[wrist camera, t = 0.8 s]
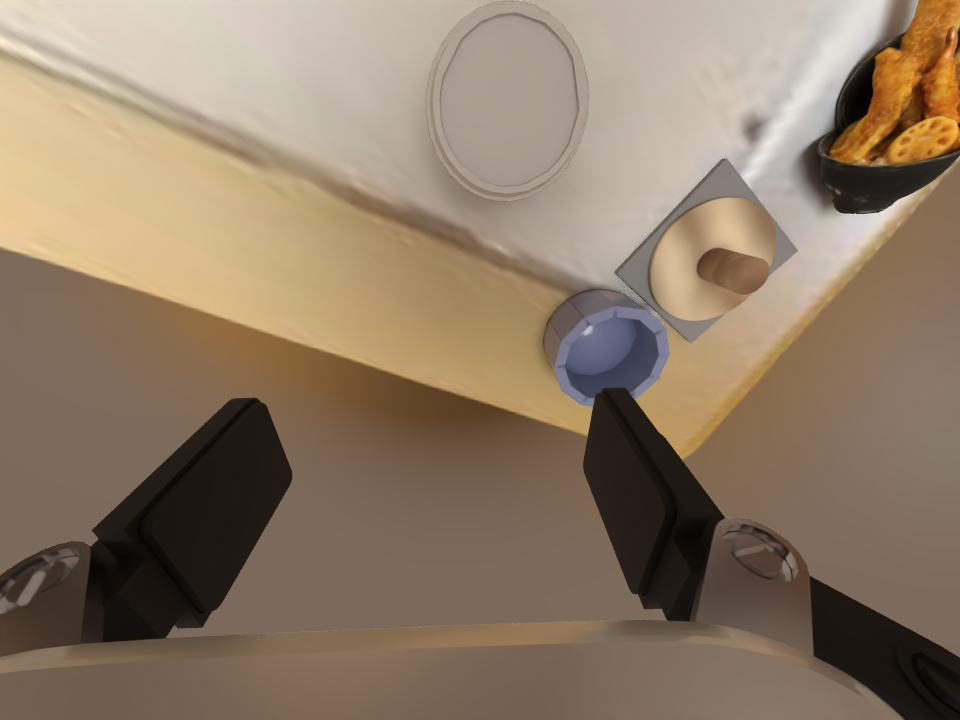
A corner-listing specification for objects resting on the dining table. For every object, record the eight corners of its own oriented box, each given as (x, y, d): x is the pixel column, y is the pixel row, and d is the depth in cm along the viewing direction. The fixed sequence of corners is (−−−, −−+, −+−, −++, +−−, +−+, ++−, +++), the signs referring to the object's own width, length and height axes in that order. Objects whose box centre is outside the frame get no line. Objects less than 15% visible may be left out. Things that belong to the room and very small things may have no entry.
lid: (724, 167, 31) (778, 164, 25) (790, 251, 35) (849, 264, 29) (623, 272, 35) (651, 289, 30) (692, 337, 39) (728, 362, 33)
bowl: (594, 268, 35) (617, 283, 30) (660, 328, 39) (691, 351, 33) (523, 344, 39) (533, 370, 34) (589, 392, 42) (607, 423, 37)
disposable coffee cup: (530, 206, 32) (561, 219, 22) (430, 180, 31) (412, 179, 20) (564, 83, 28) (624, 23, 17) (450, 47, 27) (440, -42, 16)
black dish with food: (814, 242, 30) (937, -60, 18) (778, 183, 37) (850, -69, 24) (969, 221, 27) (1267, -182, 14) (899, 159, 33) (1059, -155, 20)
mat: (722, 158, 31) (726, 158, 30) (792, 249, 35) (798, 250, 34) (614, 272, 35) (616, 273, 35) (688, 341, 40) (691, 343, 39)
